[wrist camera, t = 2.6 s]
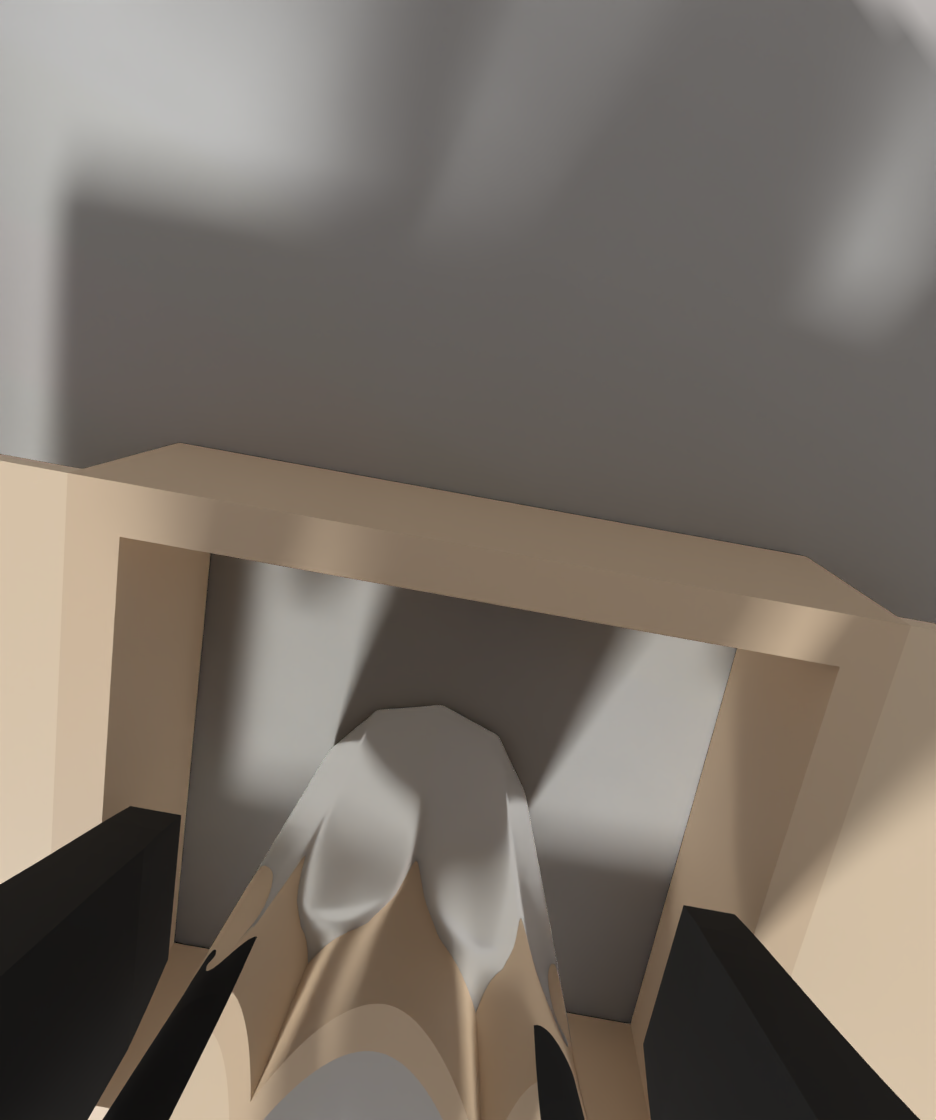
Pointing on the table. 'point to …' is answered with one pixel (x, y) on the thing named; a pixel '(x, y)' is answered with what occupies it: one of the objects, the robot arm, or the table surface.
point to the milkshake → (380, 952)
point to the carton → (524, 583)
